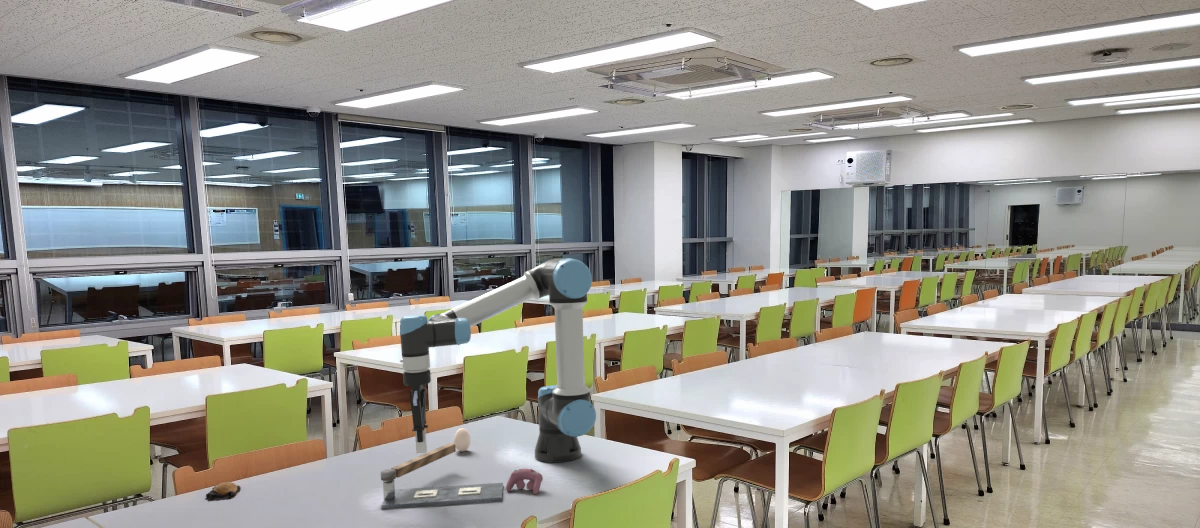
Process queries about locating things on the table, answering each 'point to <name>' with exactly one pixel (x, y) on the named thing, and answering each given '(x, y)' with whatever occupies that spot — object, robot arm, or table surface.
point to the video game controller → (524, 474)
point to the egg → (462, 440)
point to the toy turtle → (223, 491)
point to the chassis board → (440, 495)
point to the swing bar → (417, 462)
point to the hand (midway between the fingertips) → (421, 452)
